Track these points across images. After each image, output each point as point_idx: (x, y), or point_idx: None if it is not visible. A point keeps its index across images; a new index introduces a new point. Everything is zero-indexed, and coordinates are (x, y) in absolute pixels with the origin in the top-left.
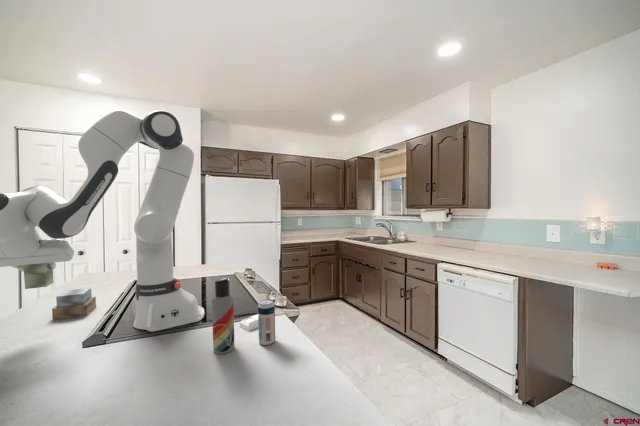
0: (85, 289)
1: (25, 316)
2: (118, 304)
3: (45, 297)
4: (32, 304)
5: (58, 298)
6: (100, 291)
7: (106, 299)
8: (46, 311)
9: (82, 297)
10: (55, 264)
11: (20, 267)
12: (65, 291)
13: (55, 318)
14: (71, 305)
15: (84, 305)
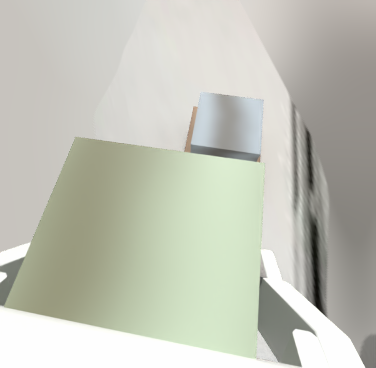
0: (252, 110)
1: (125, 122)
2: (305, 146)
3: (140, 21)
4: (124, 52)
5: (195, 148)
6: (238, 32)
7: (266, 93)
8: (158, 111)
9: (253, 159)
10: (272, 257)
11: None
12: (202, 102)
13: None
14: None
15: None
